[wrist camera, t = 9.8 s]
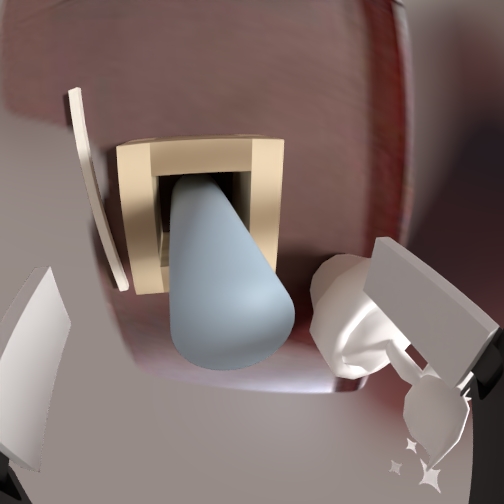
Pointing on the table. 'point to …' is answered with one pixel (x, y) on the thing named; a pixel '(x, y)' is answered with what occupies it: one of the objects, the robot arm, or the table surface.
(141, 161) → the wooden box
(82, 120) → the white thin rod
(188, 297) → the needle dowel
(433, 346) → the robot arm
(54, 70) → the table surface
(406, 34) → the table surface
